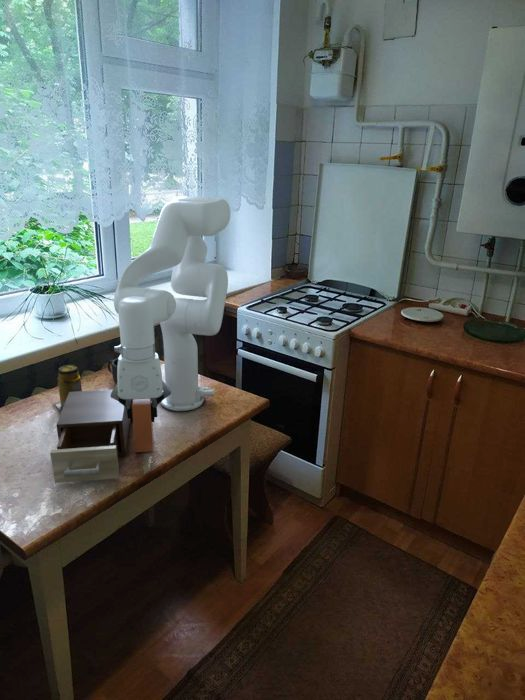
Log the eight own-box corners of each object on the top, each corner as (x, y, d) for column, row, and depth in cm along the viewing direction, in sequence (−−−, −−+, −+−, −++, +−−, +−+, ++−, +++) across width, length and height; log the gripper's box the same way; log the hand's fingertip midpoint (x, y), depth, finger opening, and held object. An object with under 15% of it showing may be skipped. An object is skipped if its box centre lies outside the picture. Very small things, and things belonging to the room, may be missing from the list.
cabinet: (125, 455, 121) (122, 420, 117) (61, 460, 118) (56, 424, 114) (129, 420, 136) (127, 388, 132) (73, 424, 133) (69, 391, 130)
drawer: (117, 491, 107) (114, 460, 104) (50, 496, 104) (45, 465, 101) (124, 440, 125) (121, 413, 122) (67, 444, 123) (63, 416, 120)
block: (153, 440, 126) (150, 394, 121) (152, 451, 121) (150, 404, 116) (136, 441, 125) (133, 395, 120) (135, 452, 120) (131, 405, 116)
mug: (148, 379, 160) (146, 359, 157) (130, 390, 152) (128, 369, 150) (118, 372, 165) (116, 352, 162) (99, 382, 157) (97, 362, 154)
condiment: (80, 398, 147) (75, 361, 142) (91, 409, 141) (86, 371, 136) (55, 405, 143) (49, 367, 138) (65, 417, 137) (59, 378, 132)
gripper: (98, 358, 109) (105, 430, 115) (175, 355, 112) (178, 425, 118) (102, 345, 116) (108, 414, 122) (175, 343, 118) (177, 410, 125)
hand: (142, 419), depth 120 cm, fingers closed on block, 4 cm apart
